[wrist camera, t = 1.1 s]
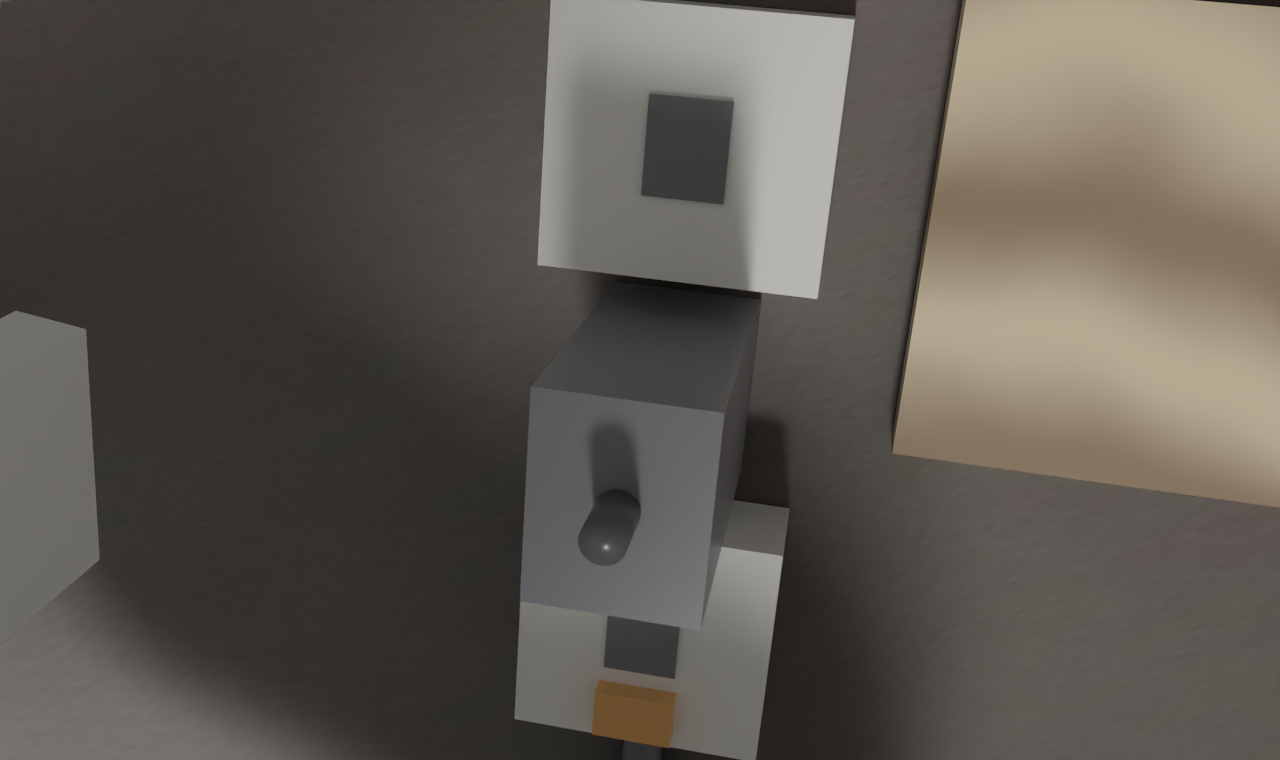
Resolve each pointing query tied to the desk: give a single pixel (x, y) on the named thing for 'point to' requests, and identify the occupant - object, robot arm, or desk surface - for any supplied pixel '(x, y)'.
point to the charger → (638, 454)
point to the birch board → (1105, 249)
